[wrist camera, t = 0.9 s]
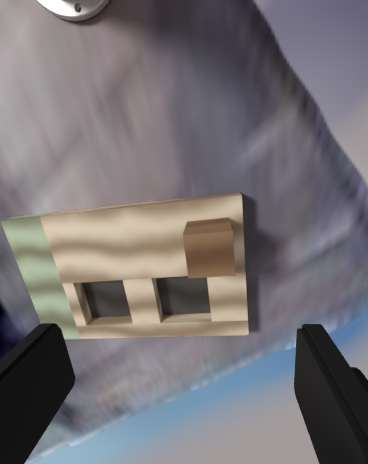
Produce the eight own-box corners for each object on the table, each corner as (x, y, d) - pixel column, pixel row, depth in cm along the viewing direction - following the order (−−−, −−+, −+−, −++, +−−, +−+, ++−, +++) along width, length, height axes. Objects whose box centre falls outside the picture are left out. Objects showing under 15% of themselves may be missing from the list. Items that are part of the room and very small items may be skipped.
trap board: (13, 217, 39) (0, 221, 36) (239, 192, 33) (241, 195, 31) (55, 330, 46) (47, 339, 44) (246, 324, 41) (248, 334, 39)
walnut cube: (187, 221, 33) (182, 235, 28) (228, 217, 32) (232, 230, 27) (191, 258, 35) (188, 278, 29) (231, 255, 34) (235, 275, 29)
